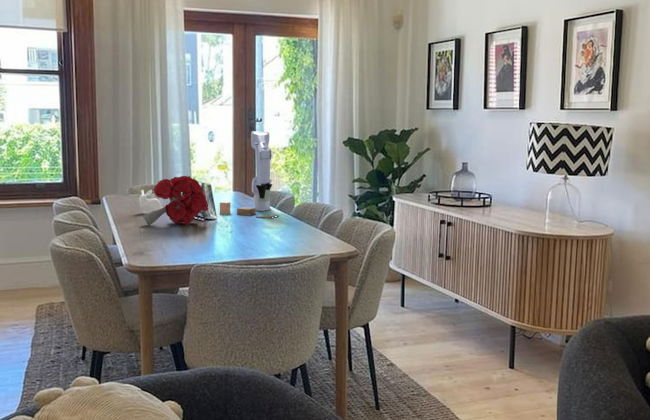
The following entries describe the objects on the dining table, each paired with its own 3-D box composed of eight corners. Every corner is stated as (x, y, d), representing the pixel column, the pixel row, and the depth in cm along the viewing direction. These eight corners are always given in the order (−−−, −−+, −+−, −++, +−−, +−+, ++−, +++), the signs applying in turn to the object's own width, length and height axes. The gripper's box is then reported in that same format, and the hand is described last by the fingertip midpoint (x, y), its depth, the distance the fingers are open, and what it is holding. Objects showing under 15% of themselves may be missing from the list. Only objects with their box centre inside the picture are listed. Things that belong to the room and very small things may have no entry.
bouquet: (161, 244, 287) (219, 209, 295) (133, 198, 281) (193, 164, 290) (155, 238, 307) (210, 206, 315) (129, 196, 301) (185, 164, 310)
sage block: (262, 200, 343) (263, 189, 342) (269, 201, 341) (269, 189, 340) (258, 201, 340) (258, 189, 339) (265, 201, 338) (265, 190, 337)
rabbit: (139, 214, 327) (139, 190, 326) (138, 211, 336) (138, 188, 334) (163, 214, 331) (163, 190, 329) (162, 211, 340) (162, 188, 338)
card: (265, 215, 338) (265, 213, 338) (279, 216, 335) (279, 215, 335) (255, 217, 329) (255, 216, 329) (269, 219, 326) (269, 217, 326)
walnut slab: (244, 213, 344) (244, 206, 344) (255, 214, 341) (255, 208, 341) (237, 214, 338) (237, 208, 337) (248, 216, 335) (248, 209, 334)
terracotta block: (223, 212, 342) (224, 201, 341) (230, 213, 340) (230, 202, 339) (219, 213, 338) (219, 202, 337) (226, 214, 336) (226, 203, 336)
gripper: (263, 170, 346) (262, 195, 348) (251, 172, 333) (251, 198, 335) (275, 171, 344) (274, 196, 346) (264, 173, 331) (263, 199, 332)
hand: (264, 197), depth 340 cm, fingers closed on sage block, 4 cm apart
